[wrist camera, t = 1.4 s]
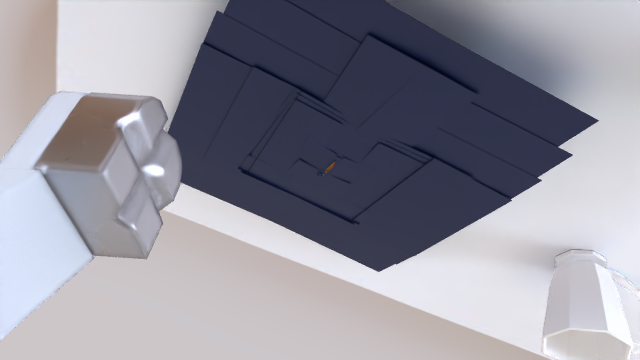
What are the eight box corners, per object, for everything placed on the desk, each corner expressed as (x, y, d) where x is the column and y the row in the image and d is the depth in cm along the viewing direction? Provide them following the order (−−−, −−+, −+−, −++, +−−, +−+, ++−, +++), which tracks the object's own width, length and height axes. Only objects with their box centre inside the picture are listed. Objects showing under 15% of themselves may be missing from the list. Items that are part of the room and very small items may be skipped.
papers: (624, 100, 36) (624, 147, 34) (387, 249, 61) (379, 281, 59) (264, -109, 31) (241, -67, 29) (165, 147, 56) (149, 178, 54)
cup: (559, 231, 49) (562, 319, 44) (677, 262, 49) (694, 354, 44) (524, 272, 55) (524, 354, 50) (630, 300, 55) (641, 385, 50)
